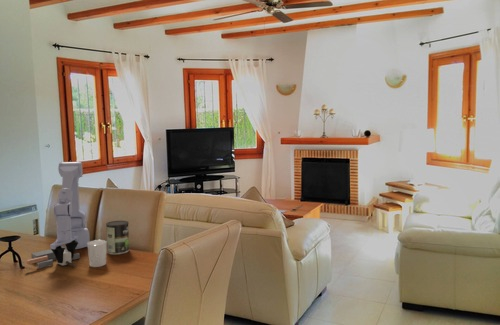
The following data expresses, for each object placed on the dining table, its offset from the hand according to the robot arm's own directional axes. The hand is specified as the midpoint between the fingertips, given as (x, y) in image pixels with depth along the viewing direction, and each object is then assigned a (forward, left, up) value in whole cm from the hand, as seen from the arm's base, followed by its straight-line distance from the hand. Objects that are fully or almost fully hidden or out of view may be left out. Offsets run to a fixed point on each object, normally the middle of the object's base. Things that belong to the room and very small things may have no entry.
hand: (65, 260), depth 176 cm
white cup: (-9, +12, -2) cm, 15 cm away
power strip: (+1, -9, -2) cm, 9 cm away
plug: (0, +3, -1) cm, 3 cm away
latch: (+10, -3, +1) cm, 11 cm away
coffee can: (-25, +2, -2) cm, 25 cm away
